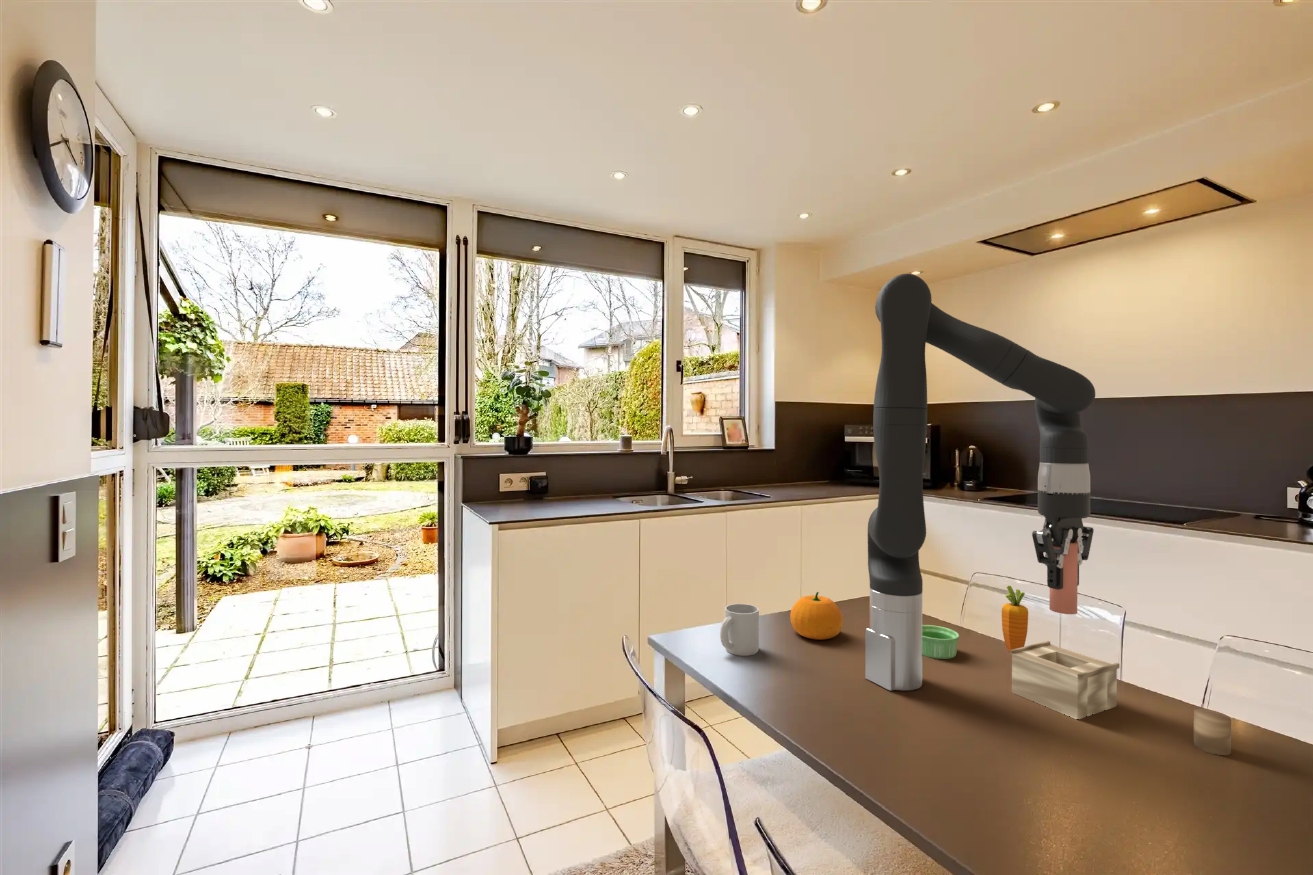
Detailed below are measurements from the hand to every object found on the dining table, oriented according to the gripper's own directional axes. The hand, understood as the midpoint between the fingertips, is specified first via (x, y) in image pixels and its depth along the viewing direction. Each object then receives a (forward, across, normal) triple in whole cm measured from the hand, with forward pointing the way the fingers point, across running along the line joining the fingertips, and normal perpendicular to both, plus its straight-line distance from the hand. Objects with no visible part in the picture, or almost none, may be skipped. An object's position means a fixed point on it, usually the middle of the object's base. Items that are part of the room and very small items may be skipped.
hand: (1063, 586), depth 102 cm
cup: (+20, +40, -43) cm, 62 cm away
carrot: (+20, -10, -15) cm, 27 cm away
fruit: (+20, +18, -44) cm, 51 cm away
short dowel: (+20, -4, +19) cm, 28 cm away
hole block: (+20, 0, 0) cm, 20 cm away
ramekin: (+20, +2, -25) cm, 32 cm away
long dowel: (+4, 0, 0) cm, 4 cm away
